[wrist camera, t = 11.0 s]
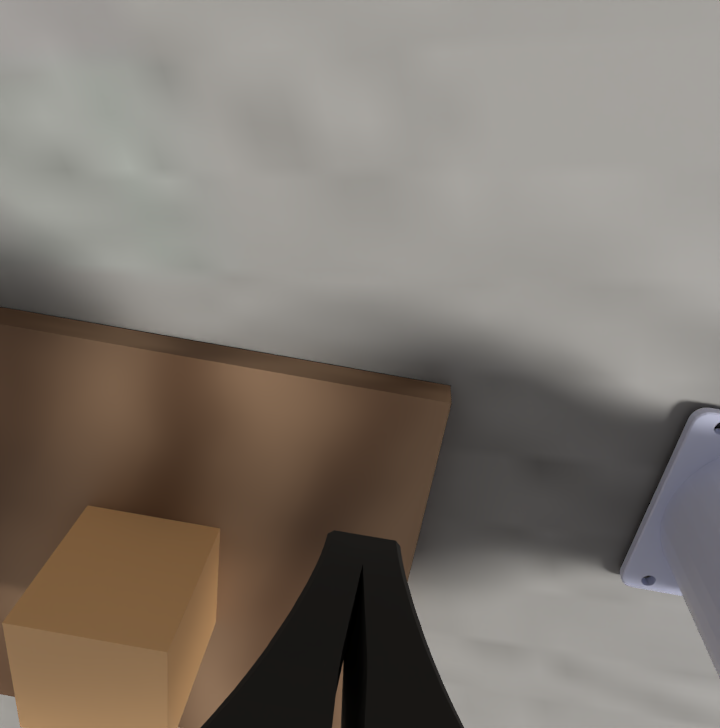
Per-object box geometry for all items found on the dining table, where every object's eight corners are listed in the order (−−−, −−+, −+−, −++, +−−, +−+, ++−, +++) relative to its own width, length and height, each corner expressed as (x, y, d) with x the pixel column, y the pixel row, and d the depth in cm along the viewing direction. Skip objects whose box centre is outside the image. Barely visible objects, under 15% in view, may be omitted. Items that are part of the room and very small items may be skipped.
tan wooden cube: (220, 528, 25) (167, 652, 20) (215, 622, 27) (167, 753, 22) (87, 505, 25) (1, 622, 20) (95, 600, 27) (20, 726, 22)
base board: (450, 385, 22) (451, 403, 21) (365, 737, 32) (362, 762, 31) (-111, 287, 23) (-138, 299, 22) (-33, 663, 32) (-49, 684, 31)
